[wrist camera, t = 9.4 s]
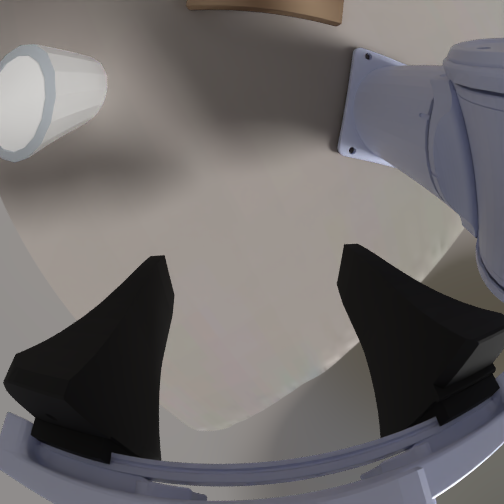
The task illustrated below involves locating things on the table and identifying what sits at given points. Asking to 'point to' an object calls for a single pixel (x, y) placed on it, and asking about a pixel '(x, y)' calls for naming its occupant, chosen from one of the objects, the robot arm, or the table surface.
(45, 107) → the white cup
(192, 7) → the walnut board
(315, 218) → the table surface
